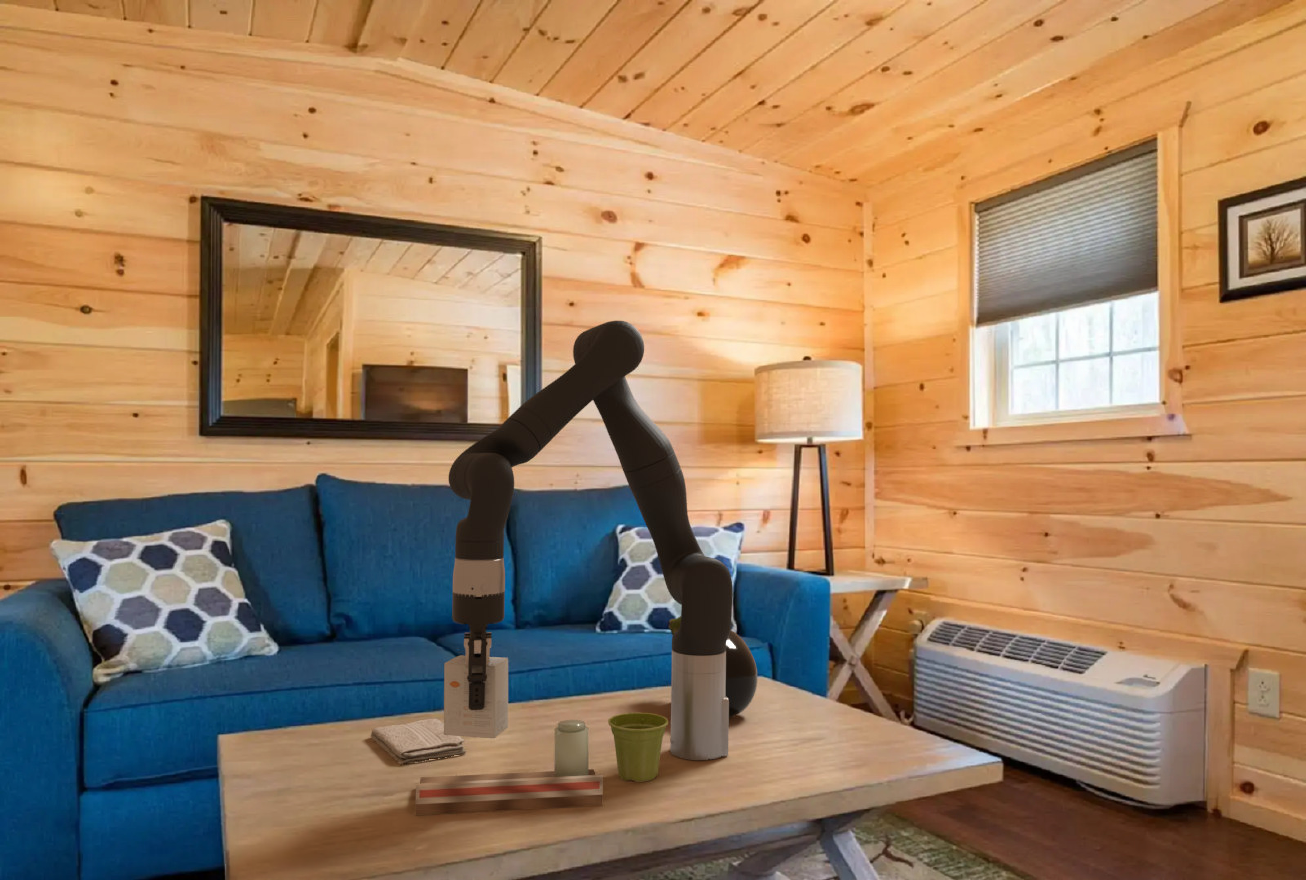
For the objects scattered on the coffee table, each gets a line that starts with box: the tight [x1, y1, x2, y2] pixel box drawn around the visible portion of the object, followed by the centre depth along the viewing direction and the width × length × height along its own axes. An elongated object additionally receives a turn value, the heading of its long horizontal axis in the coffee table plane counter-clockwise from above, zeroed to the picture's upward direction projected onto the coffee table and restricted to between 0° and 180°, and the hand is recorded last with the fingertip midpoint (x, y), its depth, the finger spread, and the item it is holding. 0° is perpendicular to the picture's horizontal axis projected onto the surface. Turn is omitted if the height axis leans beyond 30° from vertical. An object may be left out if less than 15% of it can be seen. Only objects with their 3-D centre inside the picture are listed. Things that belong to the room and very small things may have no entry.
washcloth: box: [370, 718, 467, 765], centre depth 159 cm, size 12×18×3 cm, turn 33°
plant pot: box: [607, 712, 669, 783], centre depth 145 cm, size 9×9×9 cm
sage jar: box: [553, 719, 589, 777], centre depth 137 cm, size 5×5×9 cm
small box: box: [443, 654, 509, 739], centre depth 136 cm, size 8×6×10 cm
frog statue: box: [667, 615, 758, 718], centre depth 186 cm, size 19×16×25 cm
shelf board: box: [414, 768, 604, 816], centre depth 136 cm, size 26×11×4 cm, turn 100°
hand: (476, 702), depth 136 cm, fingers closed on small box, 7 cm apart
